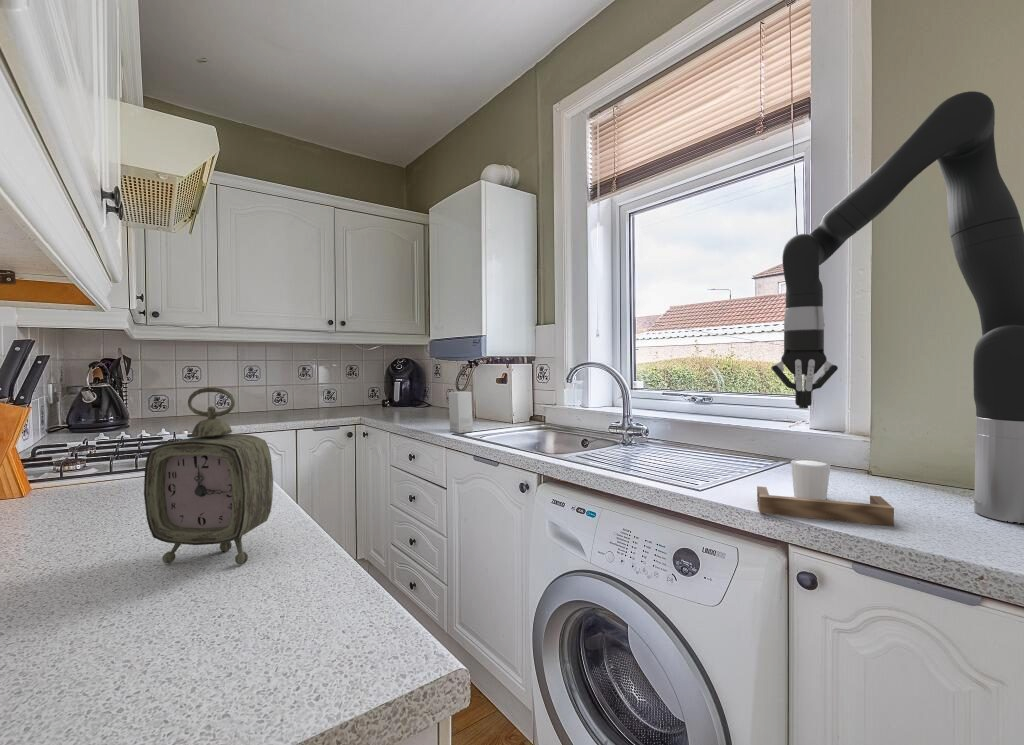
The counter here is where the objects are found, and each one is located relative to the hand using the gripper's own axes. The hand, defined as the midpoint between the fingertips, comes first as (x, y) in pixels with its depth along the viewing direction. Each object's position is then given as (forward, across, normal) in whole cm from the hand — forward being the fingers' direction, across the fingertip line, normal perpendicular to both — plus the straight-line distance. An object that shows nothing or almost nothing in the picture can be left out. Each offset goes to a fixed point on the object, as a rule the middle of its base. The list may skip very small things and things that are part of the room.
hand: (803, 407), depth 109 cm
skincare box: (+17, +110, -45) cm, 120 cm away
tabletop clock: (+17, +85, +75) cm, 115 cm away
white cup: (+17, 0, +10) cm, 20 cm away
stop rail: (+17, 0, +21) cm, 27 cm away
